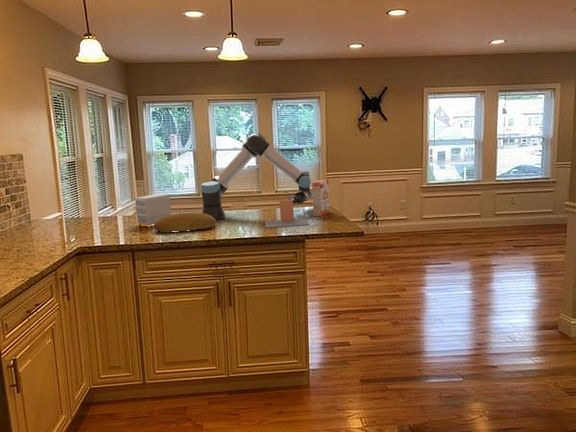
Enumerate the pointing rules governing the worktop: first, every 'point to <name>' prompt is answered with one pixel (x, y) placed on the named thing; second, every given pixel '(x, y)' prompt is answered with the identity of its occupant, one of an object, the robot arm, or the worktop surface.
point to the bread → (184, 222)
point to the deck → (286, 210)
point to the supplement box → (152, 208)
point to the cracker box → (320, 197)
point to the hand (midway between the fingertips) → (290, 202)
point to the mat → (286, 223)
